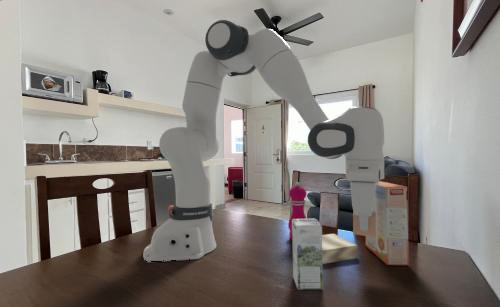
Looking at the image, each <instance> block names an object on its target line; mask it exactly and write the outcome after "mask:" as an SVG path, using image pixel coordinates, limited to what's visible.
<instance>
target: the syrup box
mask: <svg viewBox="0 0 500 307" xmlns="http://www.w3.org/2000/svg"><path fill="white" fill-rule="evenodd" d="M322 235H323V226H322V224H321V223H320V222H319V220H318V219H316V218H307V219H292V239H291V240H292V244H291V245H292V246H291V247H292V250H291V251H292V278H293V281H294V284H295V286H296V288H297V291H309V290H324V289H323V288H324V284H323V283H324V282H323V281H324V279H323V278H324V276H323V272H324V271H323V268H324V267H323V263H322Z"/></svg>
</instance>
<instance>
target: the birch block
mask: <svg viewBox="0 0 500 307" xmlns="http://www.w3.org/2000/svg"><path fill="white" fill-rule="evenodd" d="M358 254H359V253H358V245H357V244H356V243H353V242H352V241H349V240H348V239H347V238H344V237H342V236H340V235H337V234H336V233H327V234H322V265H323V264H330V263H337V262H341V261H347V260H354V259H358V256H359V255H358Z"/></svg>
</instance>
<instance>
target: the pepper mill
mask: <svg viewBox="0 0 500 307" xmlns="http://www.w3.org/2000/svg"><path fill="white" fill-rule="evenodd" d="M288 195H289V197H290V204H291V207H292V211H291V215H290V218H289V219H288V220H289V221H288V224H287V226H288V229H289V230H290V233H289V239H290V240H292V219H308V218H307V216H306V214H305V208H304V207H305V205H306V200H305V198H306V197H307V191H306V189H305V188H304V187H303V186H301V183H300V181H299V182H298V181H295V183H294V186H293V187H291V188H290V189H289V193H288Z"/></svg>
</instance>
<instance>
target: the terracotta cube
mask: <svg viewBox="0 0 500 307" xmlns="http://www.w3.org/2000/svg"><path fill="white" fill-rule="evenodd" d="M352 221H353V222H352V228H353V229H352V234H353V235H357V236H362V237H363V236H364V237H366V236H370V237H376V212H372V215H371V216H370V217H369V218H368V230H367V231H364V230H361V229H360V222H359V216H358V215H355V214H354V212H353V213H352Z"/></svg>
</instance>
